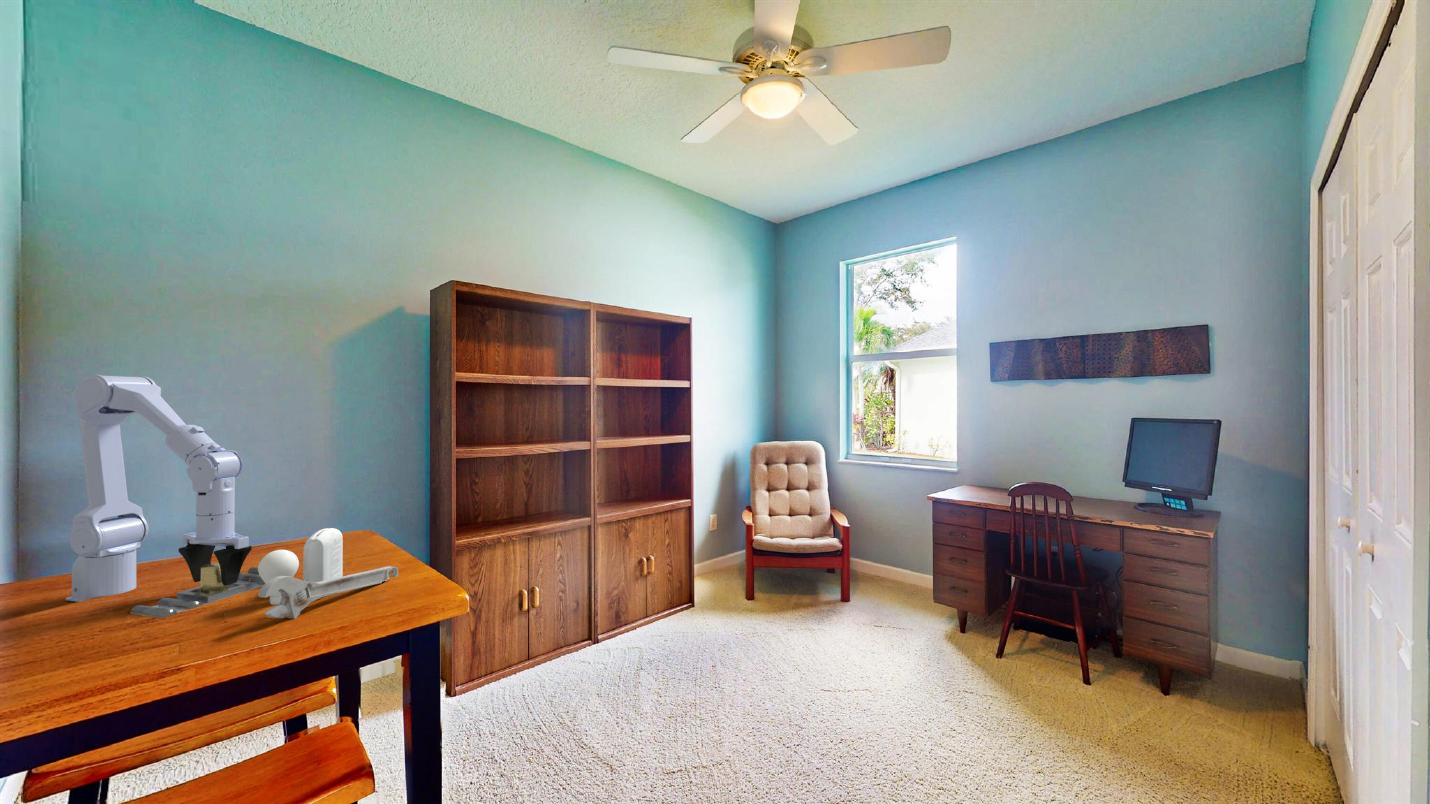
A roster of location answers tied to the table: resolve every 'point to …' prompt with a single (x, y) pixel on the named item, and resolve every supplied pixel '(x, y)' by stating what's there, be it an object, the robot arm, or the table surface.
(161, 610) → the steel chain end
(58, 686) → the table surface
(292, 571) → the lightbulb
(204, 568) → the brass pin
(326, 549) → the photo printer
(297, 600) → the wrench
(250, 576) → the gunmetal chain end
